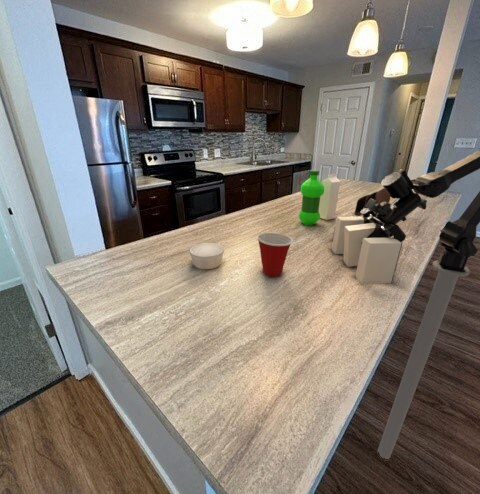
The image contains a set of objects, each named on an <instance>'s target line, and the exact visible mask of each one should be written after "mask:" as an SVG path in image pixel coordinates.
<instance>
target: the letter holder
mask: <svg viewBox="0 0 480 494" xmlns="http://www.w3.org/2000/svg"><path fill="white" fill-rule="evenodd" d="M370 198H371V199H373V200H375V201H377V202H379V203H382V202H384V201H385V202H387V203H390V202H391V198H392V197H391V196H390V195H389V194H388V192H387V191H386V190H385V188H384V187H383V188H381V189H380V190H377V191H374V192H373V193H370V194H366V195H363V196H362V197H359V198H358V199H357V200H356V206H355V209H354V215H357V216H360V215H361V213H360V211H361V210H363V209H364V208H365V206H366V204H367V203H368V201H369V200H370ZM368 209H369V208H368Z"/></svg>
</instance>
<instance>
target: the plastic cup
mask: <svg viewBox="0 0 480 494" xmlns="http://www.w3.org/2000/svg"><path fill="white" fill-rule="evenodd" d="M256 238H257V240H258V245H259V252H260V260H261V266H262V271H263V274H264V275H266V276H268V277H279V276H281V274H282V272H283V270H284V265H285V262H286V259H287V255H288V252H289V249H290V247H291V245H292V244H293V243H294V240H293V238H292V237H291V236H289V235H286V234H284V233H279V232H269V231H268V232H262V233H259V234H257V235H256Z"/></svg>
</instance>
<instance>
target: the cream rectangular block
mask: <svg viewBox="0 0 480 494" xmlns="http://www.w3.org/2000/svg"><path fill="white" fill-rule="evenodd" d="M375 226H376V224H374V223H367V224H359V225H351V226H345V230H344V254H343V262H344V264H345V265H346V267H347V268H350V267H358V262H359V257H360V252H361V247H362V244H361V243H362V242H363V238H367V237H368V236H369V235H370V234H371V233H372V232H373V231H374V230H375Z"/></svg>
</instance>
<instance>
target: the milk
mask: <svg viewBox="0 0 480 494" xmlns="http://www.w3.org/2000/svg"><path fill="white" fill-rule="evenodd" d="M321 183H322V184H323V185H324V193H323V195H321V196H320V204H319V214H320V219H323V220H324V221H325V220H326V221H329V220H333V219H335V218H336V211H337V204H338V199H339V191H340V185H341V180H340V179H338V177H337V173H331V174H327V178H325V179H323V180H322V181H321Z"/></svg>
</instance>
